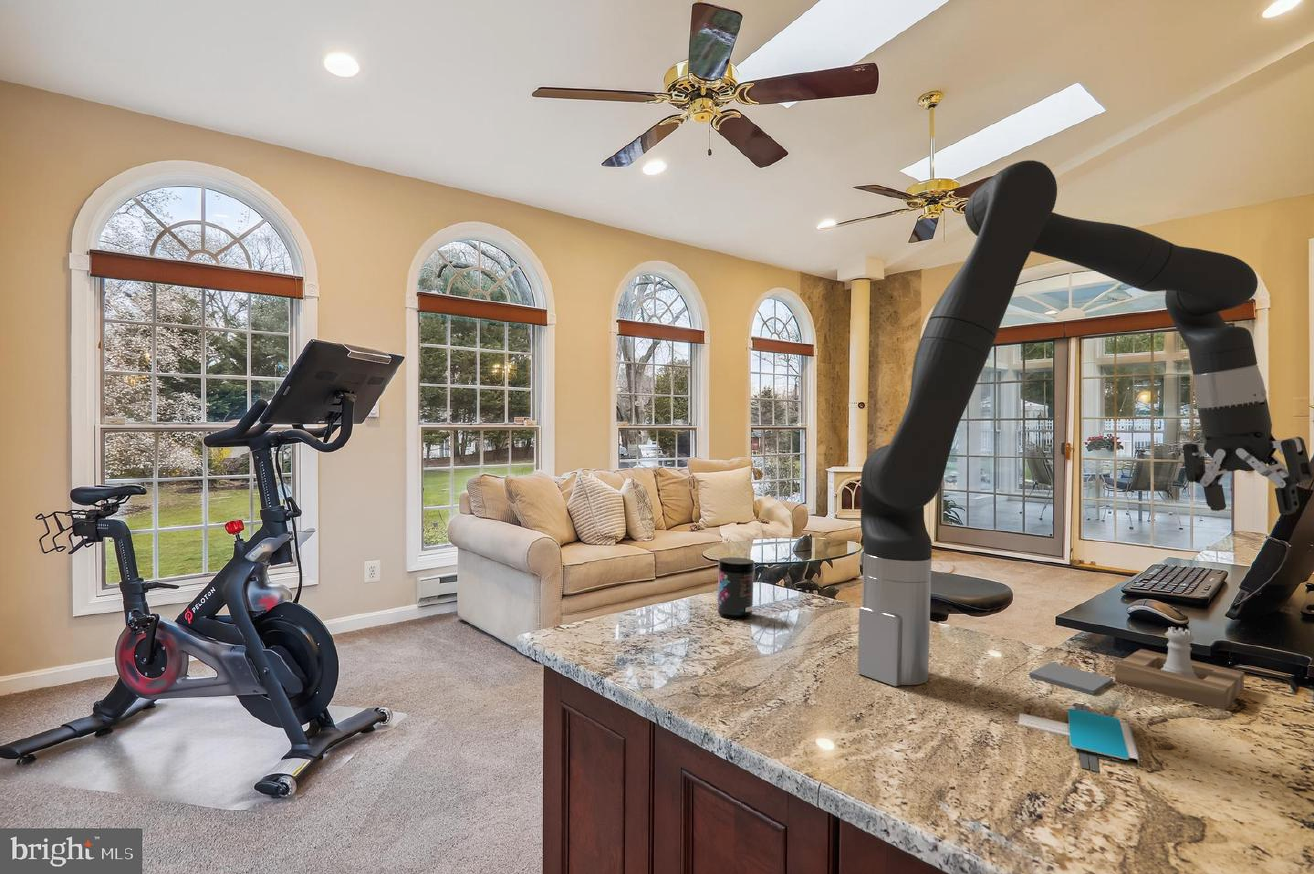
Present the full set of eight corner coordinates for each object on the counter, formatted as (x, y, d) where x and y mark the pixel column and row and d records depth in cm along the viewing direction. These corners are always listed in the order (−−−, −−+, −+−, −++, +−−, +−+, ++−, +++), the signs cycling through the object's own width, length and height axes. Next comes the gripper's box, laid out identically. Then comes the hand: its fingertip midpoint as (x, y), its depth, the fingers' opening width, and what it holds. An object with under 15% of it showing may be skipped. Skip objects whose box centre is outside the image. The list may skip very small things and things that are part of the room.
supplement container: (727, 608, 126) (728, 556, 126) (758, 614, 122) (760, 560, 122) (710, 615, 120) (712, 560, 120) (743, 622, 116) (744, 565, 116)
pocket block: (1224, 710, 82) (1225, 690, 82) (1115, 681, 92) (1115, 663, 92) (1243, 689, 90) (1244, 672, 90) (1140, 664, 99) (1141, 648, 99)
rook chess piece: (1206, 693, 88) (1207, 635, 88) (1169, 689, 89) (1171, 632, 89) (1186, 681, 93) (1187, 626, 93) (1151, 678, 93) (1153, 623, 94)
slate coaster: (1093, 695, 86) (1093, 690, 86) (1029, 676, 92) (1029, 672, 92) (1112, 682, 91) (1112, 678, 91) (1051, 666, 97) (1051, 662, 97)
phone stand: (1022, 697, 86) (1022, 685, 86) (1131, 720, 80) (1131, 706, 80) (1015, 757, 69) (1015, 742, 69) (1153, 792, 63) (1153, 775, 63)
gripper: (1160, 410, 97) (1180, 514, 97) (1271, 399, 83) (1295, 520, 83) (1196, 402, 99) (1215, 504, 99) (1310, 390, 85) (1333, 509, 85)
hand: (1252, 511), depth 91 cm, fingers open, 8 cm apart
